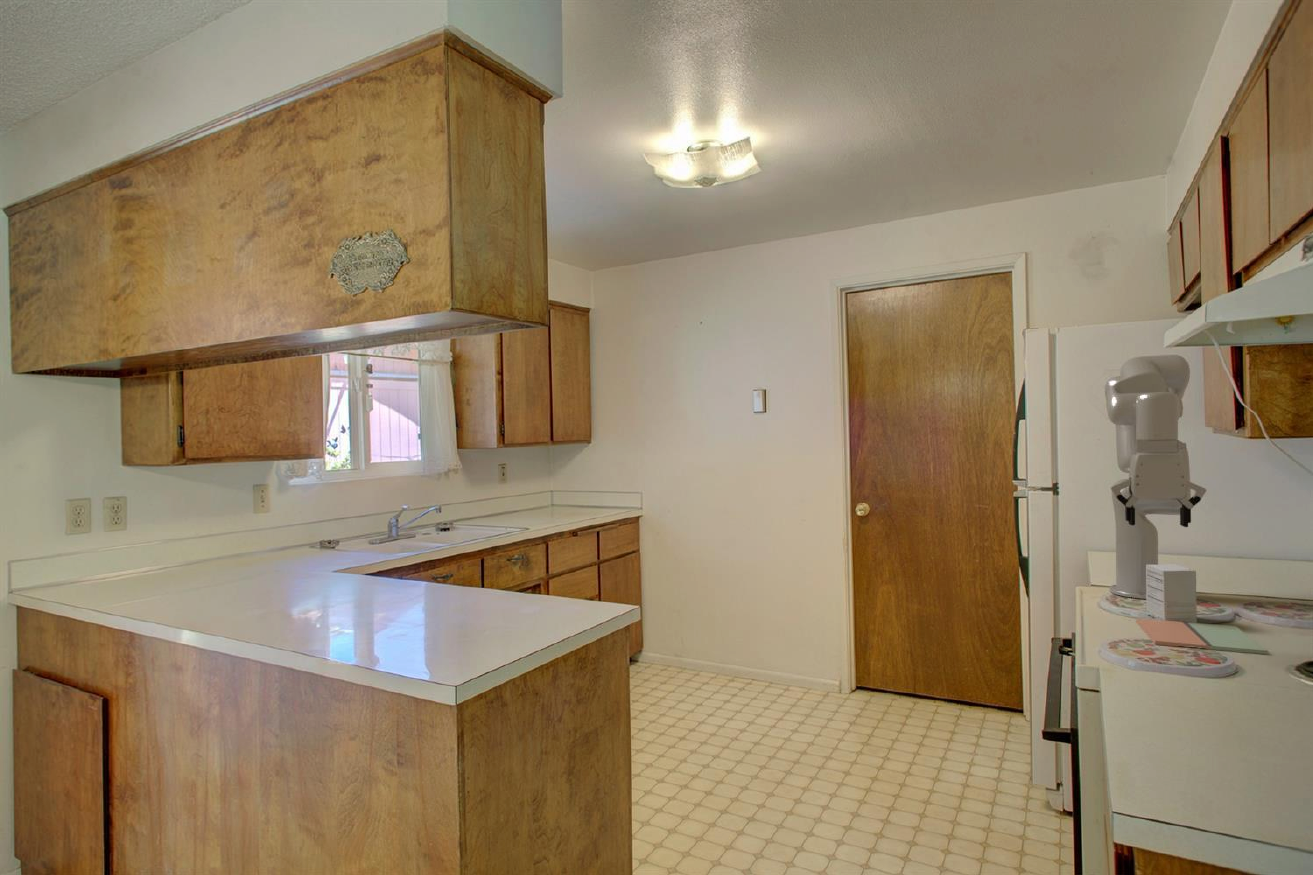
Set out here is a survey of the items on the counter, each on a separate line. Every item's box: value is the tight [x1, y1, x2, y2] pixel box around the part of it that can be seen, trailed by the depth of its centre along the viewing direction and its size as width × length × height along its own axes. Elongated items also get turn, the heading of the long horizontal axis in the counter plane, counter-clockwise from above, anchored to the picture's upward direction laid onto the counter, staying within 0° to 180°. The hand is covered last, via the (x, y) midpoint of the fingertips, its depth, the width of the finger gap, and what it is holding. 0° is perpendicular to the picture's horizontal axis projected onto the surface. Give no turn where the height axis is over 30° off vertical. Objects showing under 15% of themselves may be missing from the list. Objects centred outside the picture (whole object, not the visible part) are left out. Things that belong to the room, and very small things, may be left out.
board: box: [1135, 617, 1268, 655], centre depth 154 cm, size 18×19×1 cm
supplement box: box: [1145, 563, 1198, 623], centre depth 167 cm, size 7×7×13 cm
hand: (1157, 525), depth 154 cm, fingers open, 9 cm apart
